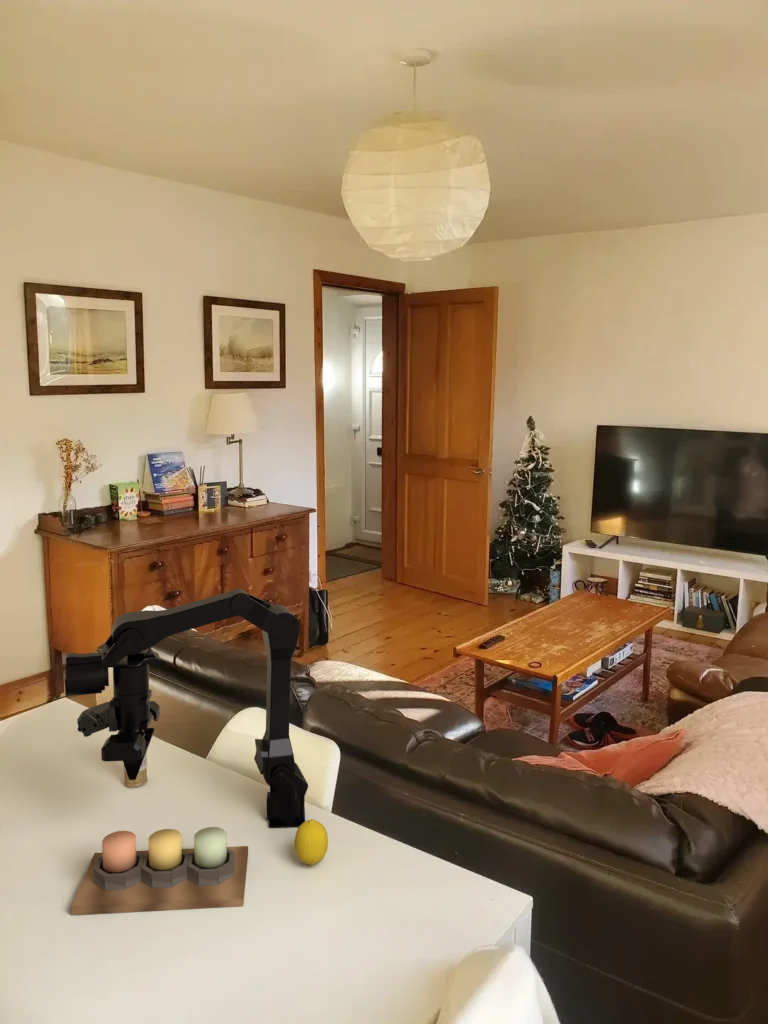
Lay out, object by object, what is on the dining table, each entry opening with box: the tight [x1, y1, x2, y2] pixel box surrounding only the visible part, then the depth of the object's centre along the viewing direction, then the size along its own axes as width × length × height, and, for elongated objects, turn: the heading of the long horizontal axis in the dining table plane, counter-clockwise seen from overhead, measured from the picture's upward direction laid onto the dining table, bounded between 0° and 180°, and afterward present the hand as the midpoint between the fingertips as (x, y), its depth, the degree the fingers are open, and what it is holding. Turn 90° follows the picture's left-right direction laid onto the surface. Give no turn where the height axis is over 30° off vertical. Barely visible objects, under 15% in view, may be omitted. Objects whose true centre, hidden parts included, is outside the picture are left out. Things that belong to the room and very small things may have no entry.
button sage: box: [193, 826, 228, 868], centre depth 125 cm, size 5×5×4 cm
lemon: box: [294, 818, 329, 867], centre depth 130 cm, size 6×6×8 cm
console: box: [71, 845, 249, 916], centre depth 125 cm, size 25×14×4 cm, turn 97°
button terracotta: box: [101, 830, 137, 873], centre depth 124 cm, size 5×5×4 cm
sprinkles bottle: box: [123, 750, 148, 788], centre depth 157 cm, size 5×5×13 cm
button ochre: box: [148, 828, 183, 870], centre depth 125 cm, size 5×5×4 cm
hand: (133, 777), depth 135 cm, fingers closed
